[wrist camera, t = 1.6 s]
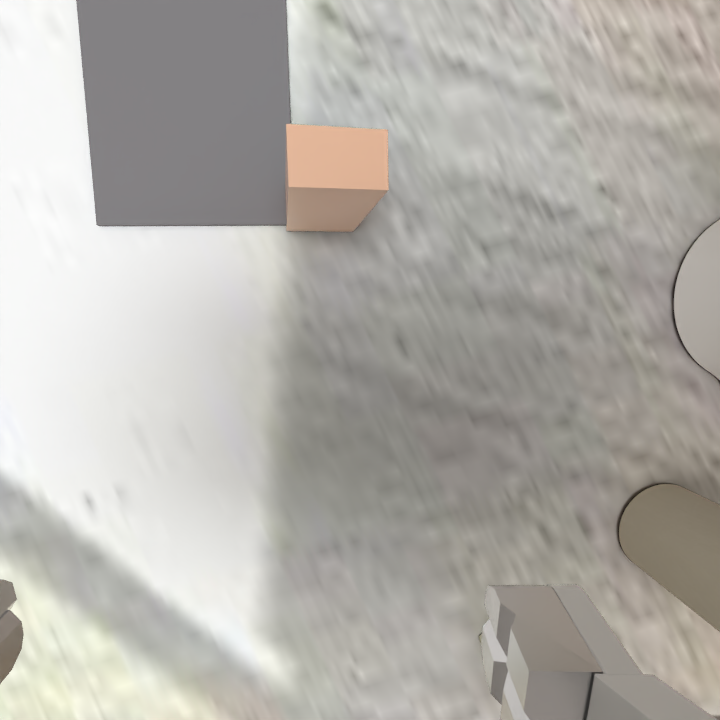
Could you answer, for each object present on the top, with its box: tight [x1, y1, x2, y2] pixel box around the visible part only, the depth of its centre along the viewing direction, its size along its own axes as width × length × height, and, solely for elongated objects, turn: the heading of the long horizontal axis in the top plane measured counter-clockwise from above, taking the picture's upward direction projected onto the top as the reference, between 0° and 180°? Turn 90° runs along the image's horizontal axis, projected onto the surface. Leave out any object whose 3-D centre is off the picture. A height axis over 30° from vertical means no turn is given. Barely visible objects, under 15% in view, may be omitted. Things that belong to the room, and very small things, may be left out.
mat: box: [76, 0, 291, 226], centre depth 30 cm, size 14×20×1 cm
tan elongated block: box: [285, 124, 388, 232], centre depth 26 cm, size 5×3×11 cm, turn 91°
